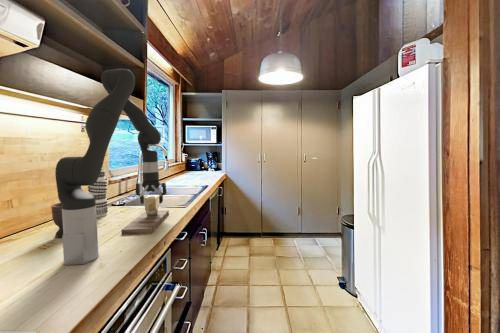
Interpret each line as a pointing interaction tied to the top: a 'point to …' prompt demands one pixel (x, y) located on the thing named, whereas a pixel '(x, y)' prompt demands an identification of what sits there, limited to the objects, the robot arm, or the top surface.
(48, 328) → the top surface
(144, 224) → the hinge base
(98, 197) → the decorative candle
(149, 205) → the tan block
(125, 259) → the top surface
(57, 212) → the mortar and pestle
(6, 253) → the top surface
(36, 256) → the top surface
